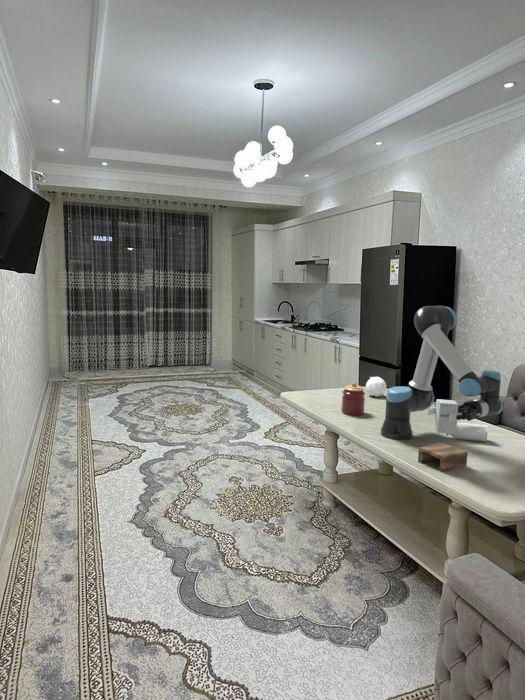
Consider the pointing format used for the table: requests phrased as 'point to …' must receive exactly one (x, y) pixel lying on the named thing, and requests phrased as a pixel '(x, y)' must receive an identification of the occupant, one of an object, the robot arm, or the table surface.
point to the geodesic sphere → (376, 386)
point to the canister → (353, 400)
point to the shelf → (443, 456)
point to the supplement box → (445, 416)
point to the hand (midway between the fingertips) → (439, 414)
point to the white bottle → (470, 432)
